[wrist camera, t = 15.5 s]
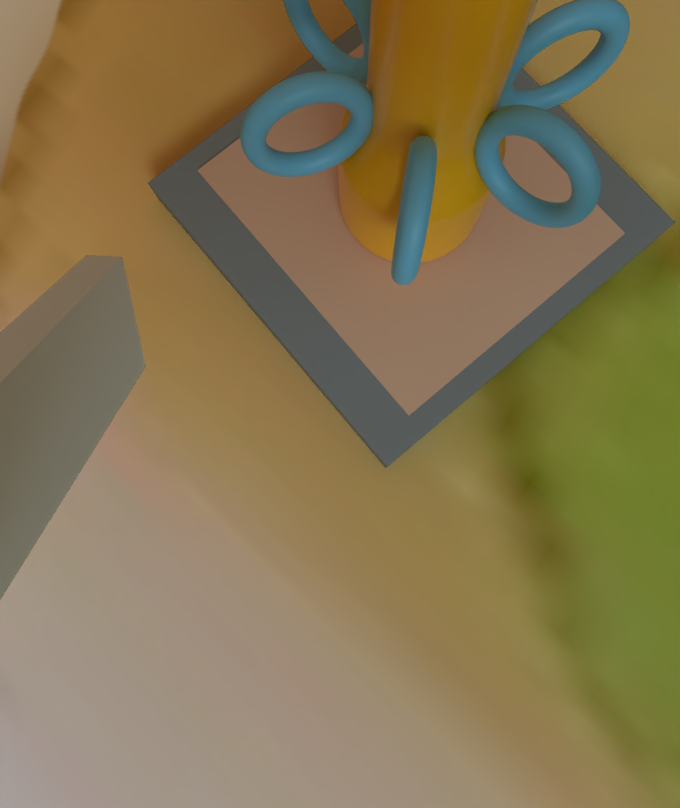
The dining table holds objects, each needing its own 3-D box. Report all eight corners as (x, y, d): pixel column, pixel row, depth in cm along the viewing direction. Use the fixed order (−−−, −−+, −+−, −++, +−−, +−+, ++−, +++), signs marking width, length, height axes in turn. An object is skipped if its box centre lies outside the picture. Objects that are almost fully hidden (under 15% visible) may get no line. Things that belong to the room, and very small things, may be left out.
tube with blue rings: (220, 202, 24) (5, -266, 9) (377, 34, 25) (419, -639, 10) (442, 384, 22) (621, 193, 8) (598, 200, 23) (1026, -287, 9)
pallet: (422, -7, 26) (425, -32, 25) (659, 234, 24) (676, 221, 23) (157, 197, 25) (147, 181, 24) (385, 467, 23) (387, 466, 22)
